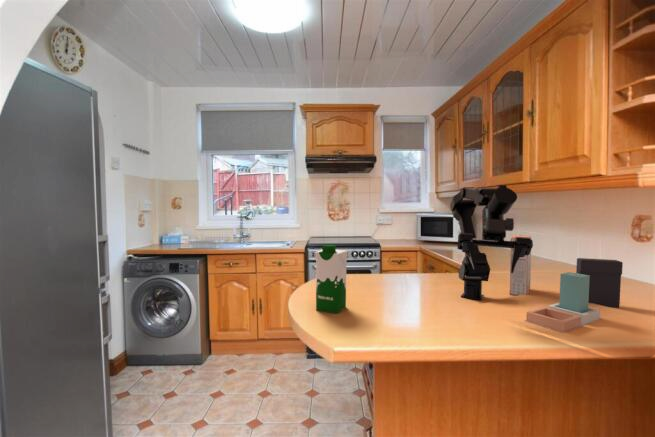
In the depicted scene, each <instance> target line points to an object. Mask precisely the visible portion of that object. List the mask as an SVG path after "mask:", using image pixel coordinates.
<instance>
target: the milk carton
mask: <svg viewBox="0 0 655 437" xmlns="http://www.w3.org/2000/svg"><path fill="white" fill-rule="evenodd" d="M321 247H322V248H321V249H320V250H317V251H315V252H314V253H315V264H316V267H315V268H316V270H315V273H316V274H315V310H316V311H319V312H325V313H332V314H338V313H339V312H341V311H342V310H344V309H345V308H346V306H347V304H346V303H347V260H348V250H343V249H342V250H341V249H337V248H336V244H322V246H321Z"/></svg>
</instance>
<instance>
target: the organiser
mask: <svg viewBox="0 0 655 437" xmlns="http://www.w3.org/2000/svg"><path fill="white" fill-rule="evenodd" d="M525 316H526V318H525V320H524V322H526V323H530V324H533V325H536V326H540V327H542V328H545V329H549V330H551V331H556V332H558V333H562V334H565V333H568V332H571V331H574V330H576V329H579V328H582V327H584V326H586V325H589V324H592V323H594V322H597V321H599V320H602V318H601V317H600V316H601V310H600V309H598V308H593V307H590V306H588V312H585V313H579V312H575V311H571V310H567V309H563V308H559V302H556V303H552V304H548V305H547V307H546V306H542V307H537V308H535V309H532V310H529V311H526V315H525Z"/></svg>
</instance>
